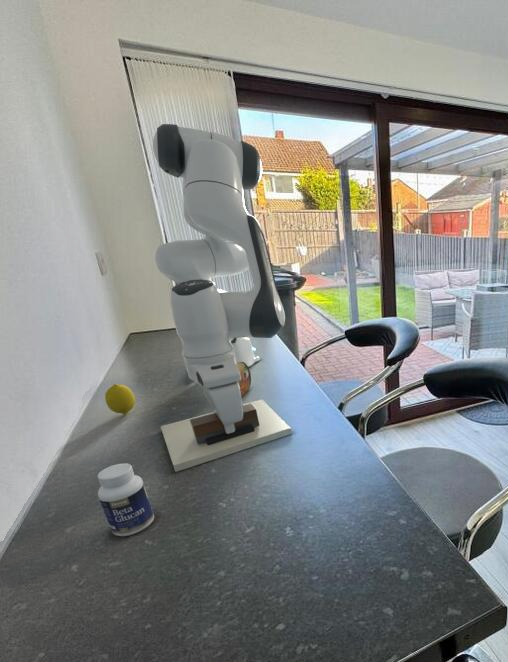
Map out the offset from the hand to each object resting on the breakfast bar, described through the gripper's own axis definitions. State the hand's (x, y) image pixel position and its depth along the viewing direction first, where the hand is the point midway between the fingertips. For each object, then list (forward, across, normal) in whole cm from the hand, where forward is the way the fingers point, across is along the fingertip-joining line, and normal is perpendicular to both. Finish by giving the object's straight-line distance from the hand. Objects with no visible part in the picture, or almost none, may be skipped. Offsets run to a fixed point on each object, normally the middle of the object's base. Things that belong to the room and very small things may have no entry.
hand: (227, 427), depth 84 cm
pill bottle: (+3, +19, -18) cm, 26 cm away
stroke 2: (+1, +3, 0) cm, 3 cm away
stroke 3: (+1, +3, +3) cm, 4 cm away
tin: (+3, -23, +7) cm, 24 cm away
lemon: (+3, -30, -17) cm, 35 cm away
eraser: (+1, 0, 0) cm, 1 cm away
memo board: (+3, -3, 0) cm, 4 cm away
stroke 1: (+1, +2, -3) cm, 4 cm away
